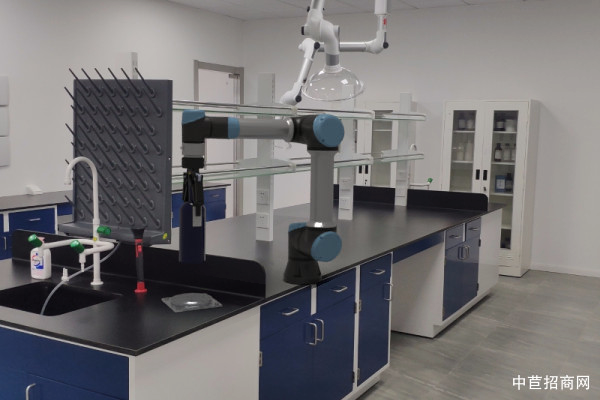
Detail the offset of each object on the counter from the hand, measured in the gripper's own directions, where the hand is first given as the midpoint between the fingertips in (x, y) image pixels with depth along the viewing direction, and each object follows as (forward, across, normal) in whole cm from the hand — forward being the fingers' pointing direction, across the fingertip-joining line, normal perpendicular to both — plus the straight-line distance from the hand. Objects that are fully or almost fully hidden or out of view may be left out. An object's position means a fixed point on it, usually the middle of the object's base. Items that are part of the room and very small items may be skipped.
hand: (192, 224), depth 210 cm
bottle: (+13, 0, 0) cm, 13 cm away
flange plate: (+27, 0, 0) cm, 27 cm away
